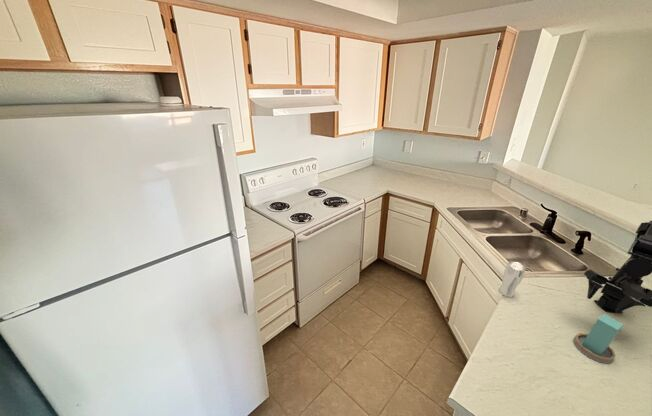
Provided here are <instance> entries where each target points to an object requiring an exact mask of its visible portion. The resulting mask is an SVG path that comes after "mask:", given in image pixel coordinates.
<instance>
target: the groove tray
mask: <svg viewBox="0 0 652 416" xmlns="http://www.w3.org/2000/svg"><path fill="white" fill-rule="evenodd" d="M588 334H589V333H581V332H580V333H578V334H576V335H575V336H574V337H573V339H572V343H573V345H574V347H575V348H576V349H577V351H579V352H580V353H581V354H582V355H584V356H586V357H587V358H589V359H591V360H593V361H594V362H598V363H601V364H606V365H607V364H611V363H613V361H614V360H615V358H616V353H615V351H614V349H613V348H612V347H611V346H610V345H609V346H608V348H607V349H606V351H605V352H604V353H603V354H602V355H600V356H598V355H596V354H594V353H593V352H591V351H590V350H588V349H587V348H585V347H584V346H582V343H583V342H584V340H585V338H586V337H587V335H588Z"/></svg>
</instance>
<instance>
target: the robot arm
mask: <svg viewBox="0 0 652 416" xmlns="http://www.w3.org/2000/svg"><path fill="white" fill-rule="evenodd" d="M634 234H636V236H635V237H634V241H633V242H632V243H631V245H630V247H629V249H628V251H627V254H628V255H630V256H629V257H628V259H627V260H625V262H624V263H623V264H622V265H621V266H620V267H617V268H615V271H616V272H615V274H614V275H613V276H612V277H611V276H609V277H608V278H607V277H606V276H604V275H603V274H601V273H599V272H597V271H595V270H593V269H587V270H586V271H585V272H584V273H583V275H585V277H586V279H587V281H588V282H587V283H588V289H587V297H586V298H587V299H588V300H590V299H592V298H593V297H594V295H595V294H596V293H597V292H598V291H599V290H600V292H599V293H601V294H602V295H601V296H600V297H599V299H594V300H593V302H594V303H596V304H597V306H599V307H600V308H602V309H603V310H604V312H607V313H615V314H623V313H624V311H625V310H627V309H630V308H633V307H640V306H641V307H650V308H652V289H650V288H645V287H643V286H642V284H644V283H643V282H644V280H643V278H644V277H647V276H649V275H651V274H652V220H649V221H647V222H646V221H645V222H641V223H640V224H639V225H638V227H637V229H636V231H635V233H634Z"/></svg>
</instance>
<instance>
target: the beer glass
mask: <svg viewBox="0 0 652 416" xmlns="http://www.w3.org/2000/svg"><path fill="white" fill-rule="evenodd" d="M526 270H527V267H526V266H525V265H524V264H522V263H520V262H518V261H508V262H507V265H506V266H505V269H504V270H503V271H504V272H503V274H502V282H501V285H500V286H499V287H498V292H499V293H500V294H501V295H502V296H504V297H506V298H513V297H515V292H516V290H517V289H516V288H518V286H519V285H520V284H521V282H522V281H523V279H524V276H525V273H526Z"/></svg>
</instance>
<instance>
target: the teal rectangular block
mask: <svg viewBox="0 0 652 416" xmlns="http://www.w3.org/2000/svg"><path fill="white" fill-rule="evenodd" d="M623 326H624V323H622V322H620V321H619V320H616V319H615V318H612V317H611V316H609V315H607V314H605V313H603V314H602V315H600V317H598V318H597V320H596V321H595V323H594V324H593V326H592V328H591V329H590V331H589V332H588V333H587V334H588V335H587V337H586V338H585V340H584V342H583V343H582V346H584V347H585V348H587V349H588V350H590V351H591V352H593V353H594V354H596V355H598V356H600V355H602V354H603V353H604V352H605V351H606V349H607V348H608V346H610V345H611V344H612V343H613V340H614V339H615V338H616V336H617V335H618V333H619V332H620V330H621V329H622V328H623Z"/></svg>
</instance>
